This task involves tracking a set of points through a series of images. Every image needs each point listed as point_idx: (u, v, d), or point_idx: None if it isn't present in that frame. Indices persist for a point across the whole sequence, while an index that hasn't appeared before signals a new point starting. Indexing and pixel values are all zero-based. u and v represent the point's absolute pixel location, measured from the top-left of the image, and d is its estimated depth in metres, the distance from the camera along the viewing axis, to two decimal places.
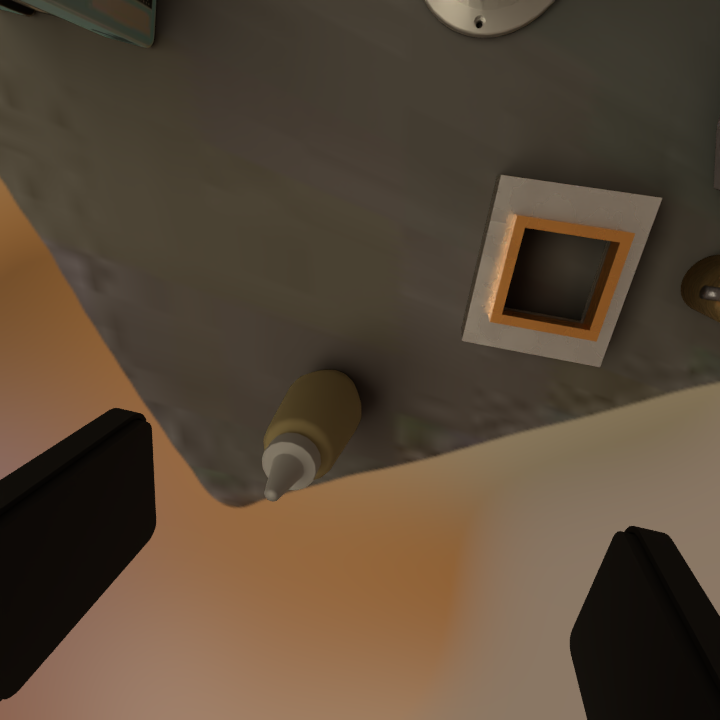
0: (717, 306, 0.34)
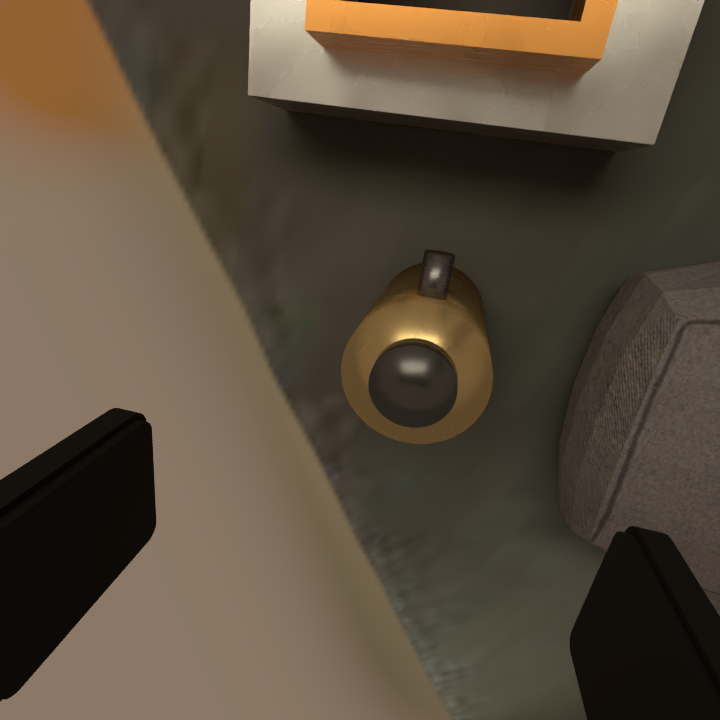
0: (404, 291, 0.16)
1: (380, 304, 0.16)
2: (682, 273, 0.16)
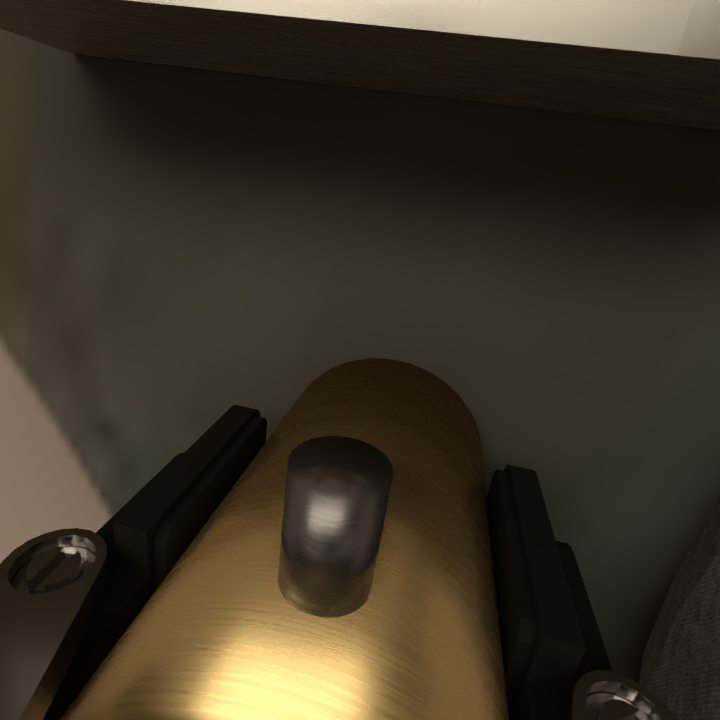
0: (259, 532, 0.05)
1: (179, 581, 0.05)
2: None
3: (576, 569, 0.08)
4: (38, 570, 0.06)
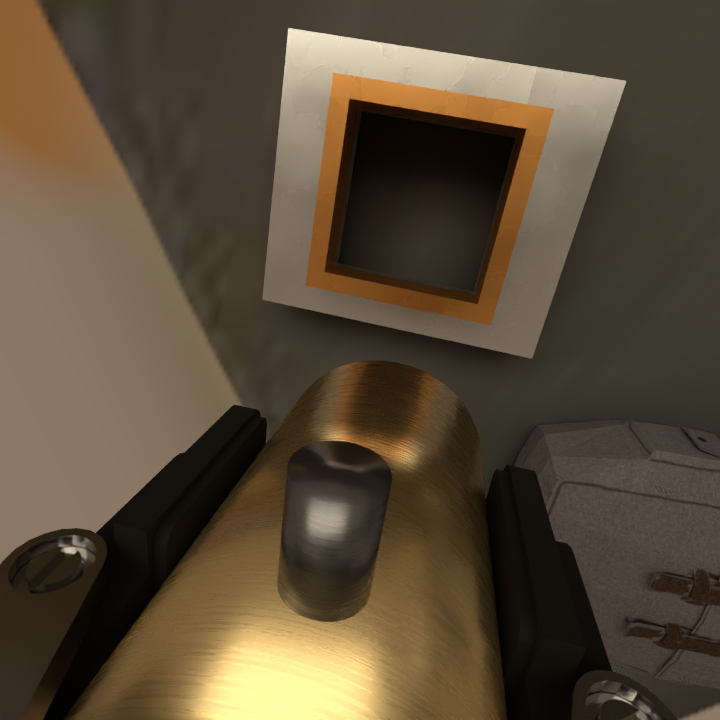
0: (259, 535, 0.05)
1: (179, 584, 0.05)
2: (567, 436, 0.24)
3: (575, 568, 0.08)
4: (38, 570, 0.06)
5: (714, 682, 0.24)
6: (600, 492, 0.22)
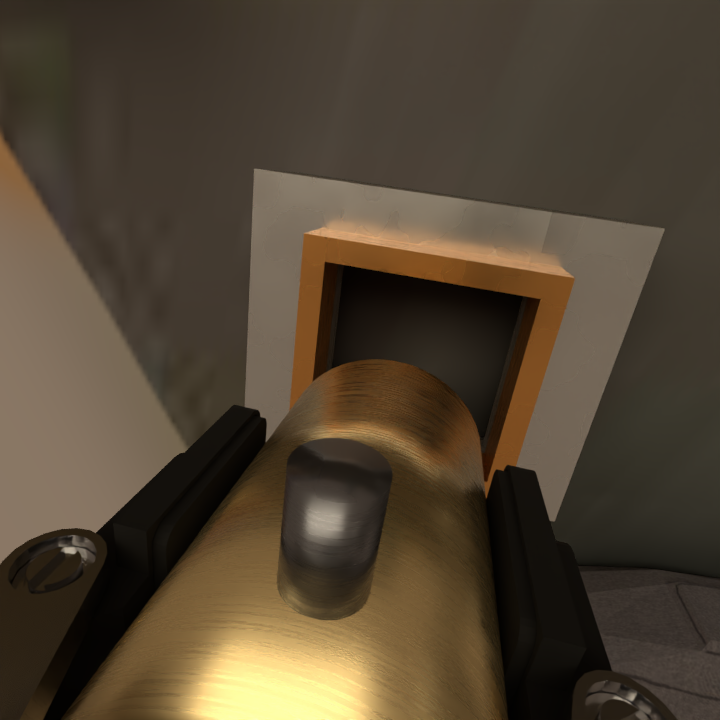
0: (258, 534, 0.05)
1: (178, 583, 0.05)
2: (602, 600, 0.21)
3: (575, 568, 0.08)
4: (38, 570, 0.06)
5: None
6: (645, 686, 0.18)
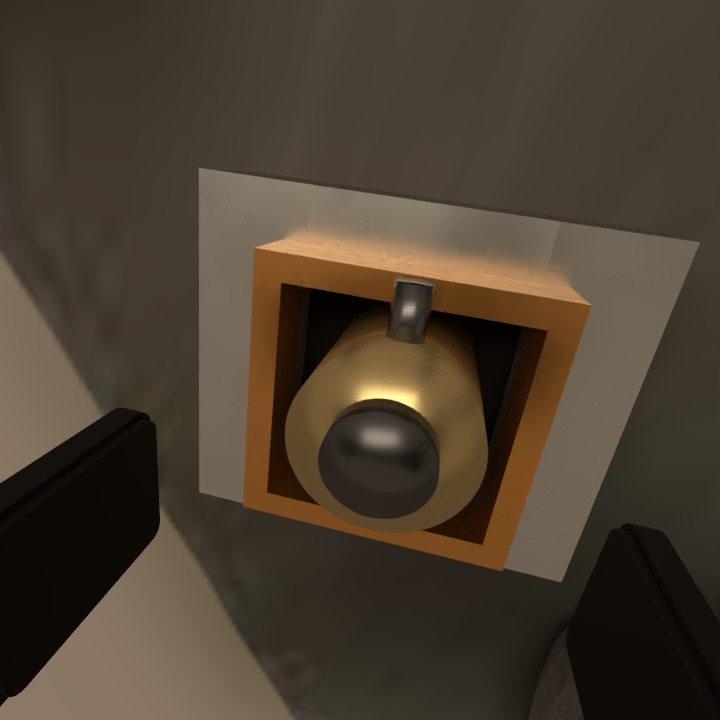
0: (371, 330, 0.12)
1: (338, 347, 0.12)
2: None
3: None
4: None
5: None
6: None
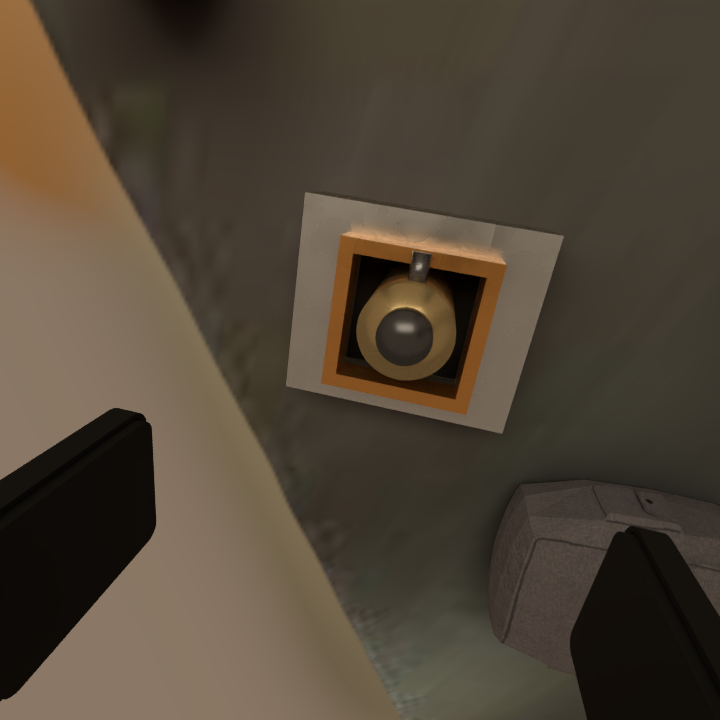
0: (399, 278, 0.24)
1: (382, 286, 0.24)
2: (542, 497, 0.30)
3: None
4: None
5: None
6: (567, 547, 0.27)
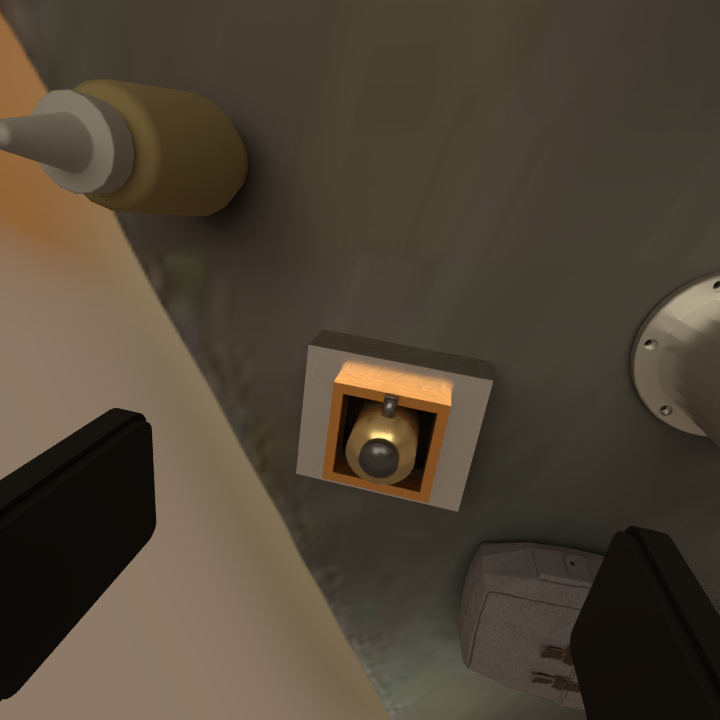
0: (376, 411, 0.33)
1: (364, 418, 0.33)
2: (495, 558, 0.39)
3: None
4: None
5: None
6: (510, 598, 0.37)
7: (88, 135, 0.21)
